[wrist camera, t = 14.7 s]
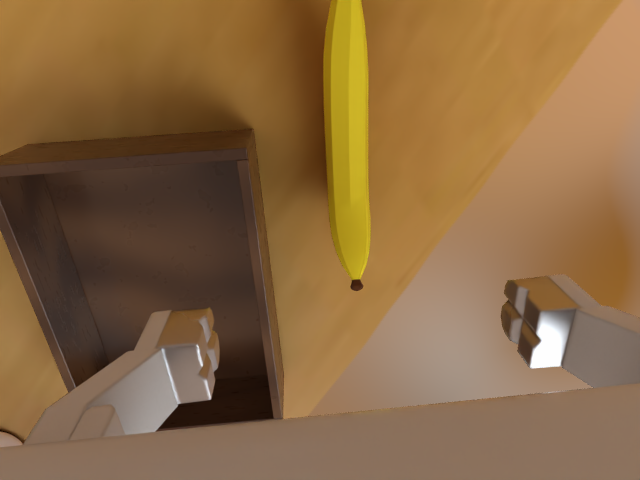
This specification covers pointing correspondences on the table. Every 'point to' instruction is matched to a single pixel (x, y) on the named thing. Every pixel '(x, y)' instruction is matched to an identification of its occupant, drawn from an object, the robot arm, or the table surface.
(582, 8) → the table surface
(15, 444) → the drinking glass
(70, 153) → the tray
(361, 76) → the banana
